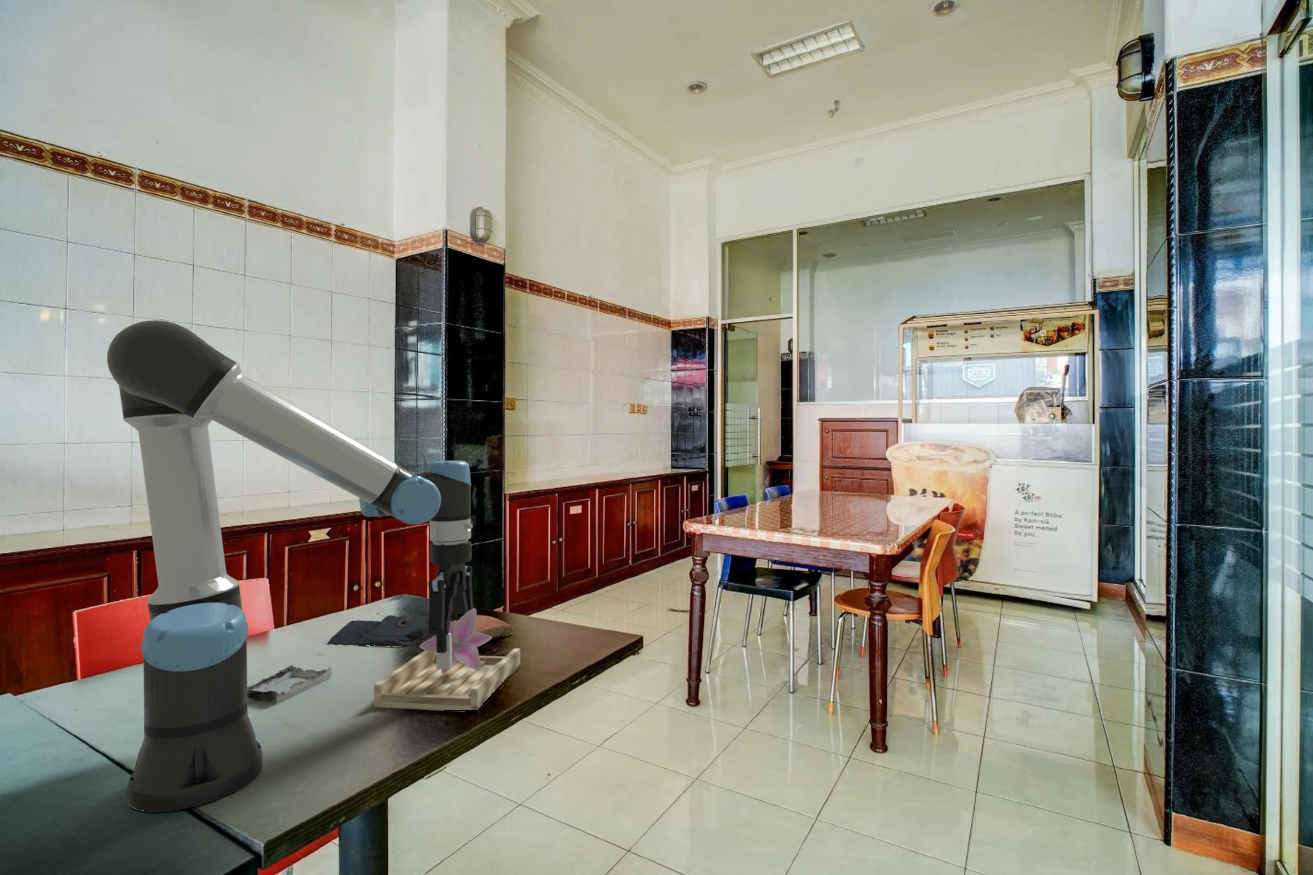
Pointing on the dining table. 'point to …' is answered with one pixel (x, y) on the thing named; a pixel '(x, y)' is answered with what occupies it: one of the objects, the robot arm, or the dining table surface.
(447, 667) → the robot arm
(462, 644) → the lily
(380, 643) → the dark block with eyelet
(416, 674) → the drying rack
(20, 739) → the dining table surface
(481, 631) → the ceramic shard
